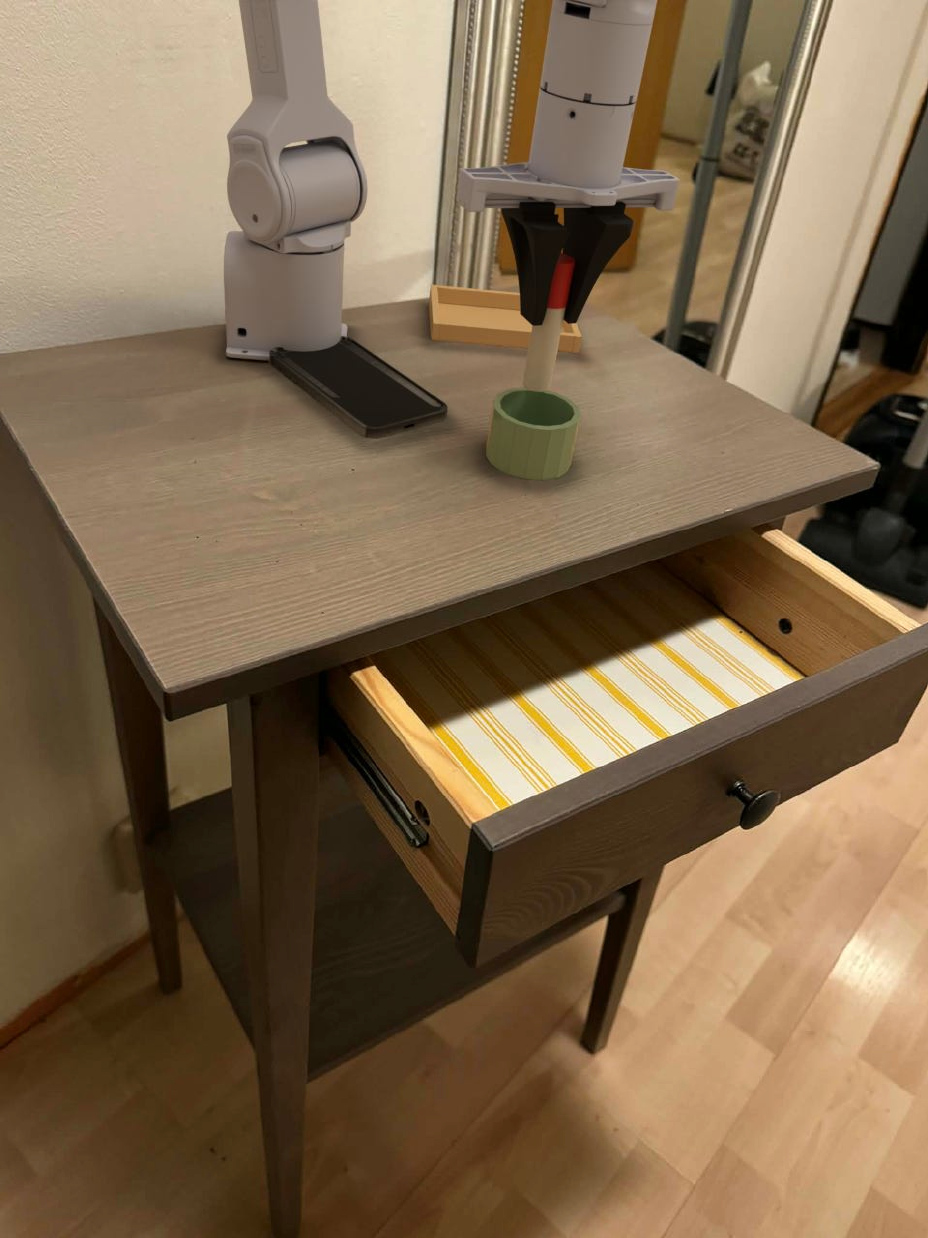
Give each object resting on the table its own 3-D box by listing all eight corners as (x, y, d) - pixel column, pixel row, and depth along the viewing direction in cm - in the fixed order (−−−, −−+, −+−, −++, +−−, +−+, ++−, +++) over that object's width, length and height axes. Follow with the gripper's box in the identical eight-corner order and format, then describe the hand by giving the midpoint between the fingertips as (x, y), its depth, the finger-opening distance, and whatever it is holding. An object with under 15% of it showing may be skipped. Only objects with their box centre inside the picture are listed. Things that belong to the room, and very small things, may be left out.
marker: (523, 391, 66) (545, 261, 60) (520, 377, 68) (541, 250, 62) (552, 393, 66) (577, 264, 60) (549, 380, 68) (573, 253, 62)
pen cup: (488, 482, 66) (497, 425, 64) (482, 439, 71) (490, 383, 68) (574, 488, 67) (587, 432, 64) (563, 445, 72) (574, 390, 69)
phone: (345, 333, 80) (453, 408, 72) (344, 346, 81) (452, 422, 72) (262, 350, 76) (367, 431, 67) (262, 363, 77) (367, 445, 68)
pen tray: (431, 344, 83) (433, 322, 82) (428, 304, 90) (430, 284, 89) (577, 357, 85) (581, 336, 83) (563, 317, 92) (567, 297, 91)
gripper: (504, 106, 50) (473, 350, 58) (728, 115, 55) (669, 337, 64) (454, 76, 55) (432, 305, 63) (664, 86, 60) (617, 296, 69)
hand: (548, 318), depth 64 cm, fingers closed on marker, 2 cm apart
